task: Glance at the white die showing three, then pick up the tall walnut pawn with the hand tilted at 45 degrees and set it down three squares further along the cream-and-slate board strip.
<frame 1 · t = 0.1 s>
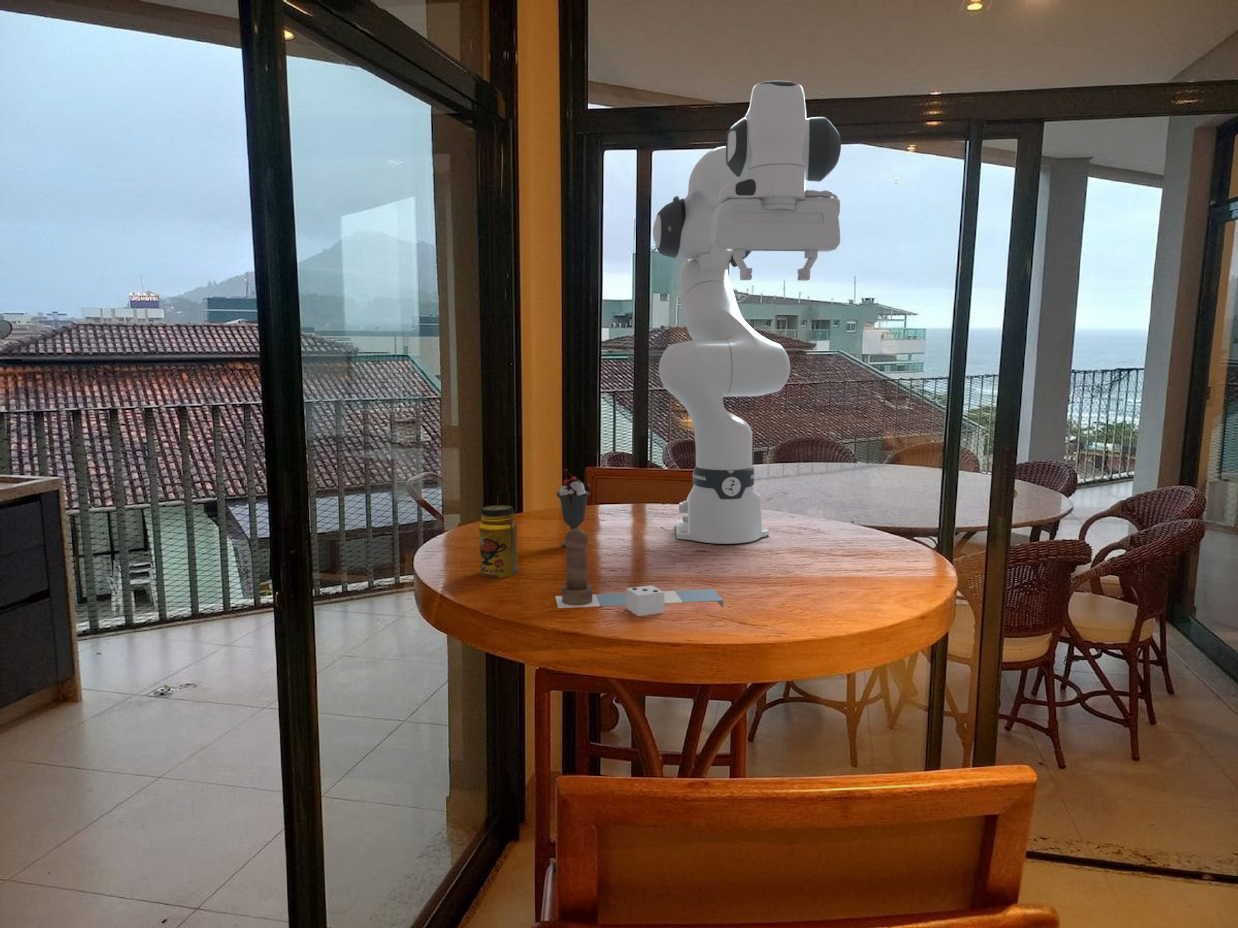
hand: (774, 280, 136), 48 cm above the table, tool pointing down, fingers open, 8 cm apart
die: (645, 617, 121), on the table
condiment: (501, 578, 143), on the table
pawn: (577, 600, 125), point 1 cm above the table, touching board
board: (638, 604, 126), on the table
sundae: (574, 546, 166), on the table
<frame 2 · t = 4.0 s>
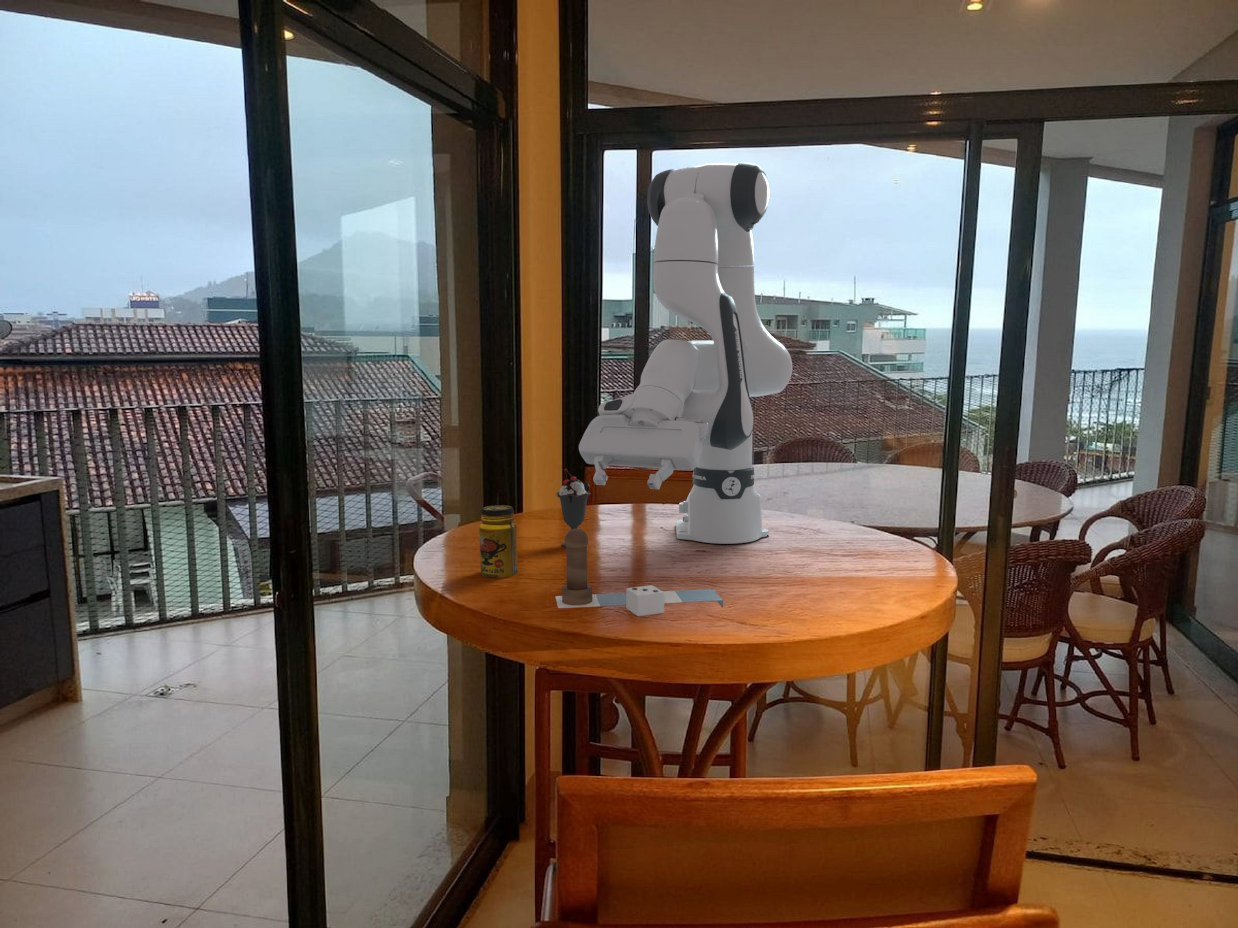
hand: (625, 484, 133), 17 cm above the table, tool tilted 45°, fingers open, 8 cm apart
nothing on the table moved.
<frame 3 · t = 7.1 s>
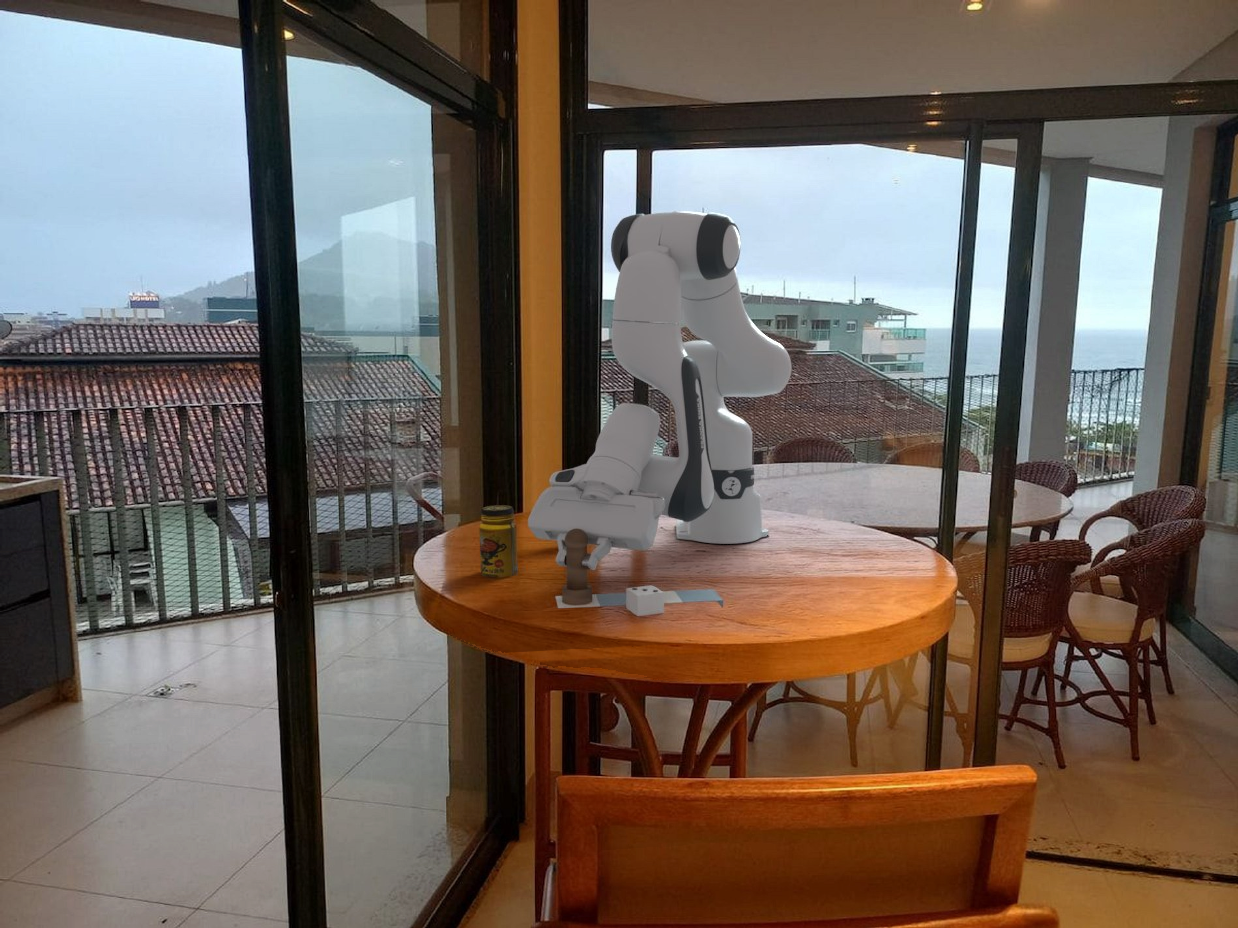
hand: (574, 565, 124), 6 cm above the table, tool tilted 45°, fingers closed on pawn, 3 cm apart
pawn: (577, 600, 125), point 1 cm above the table, touching board, gripper
everything else where it was.
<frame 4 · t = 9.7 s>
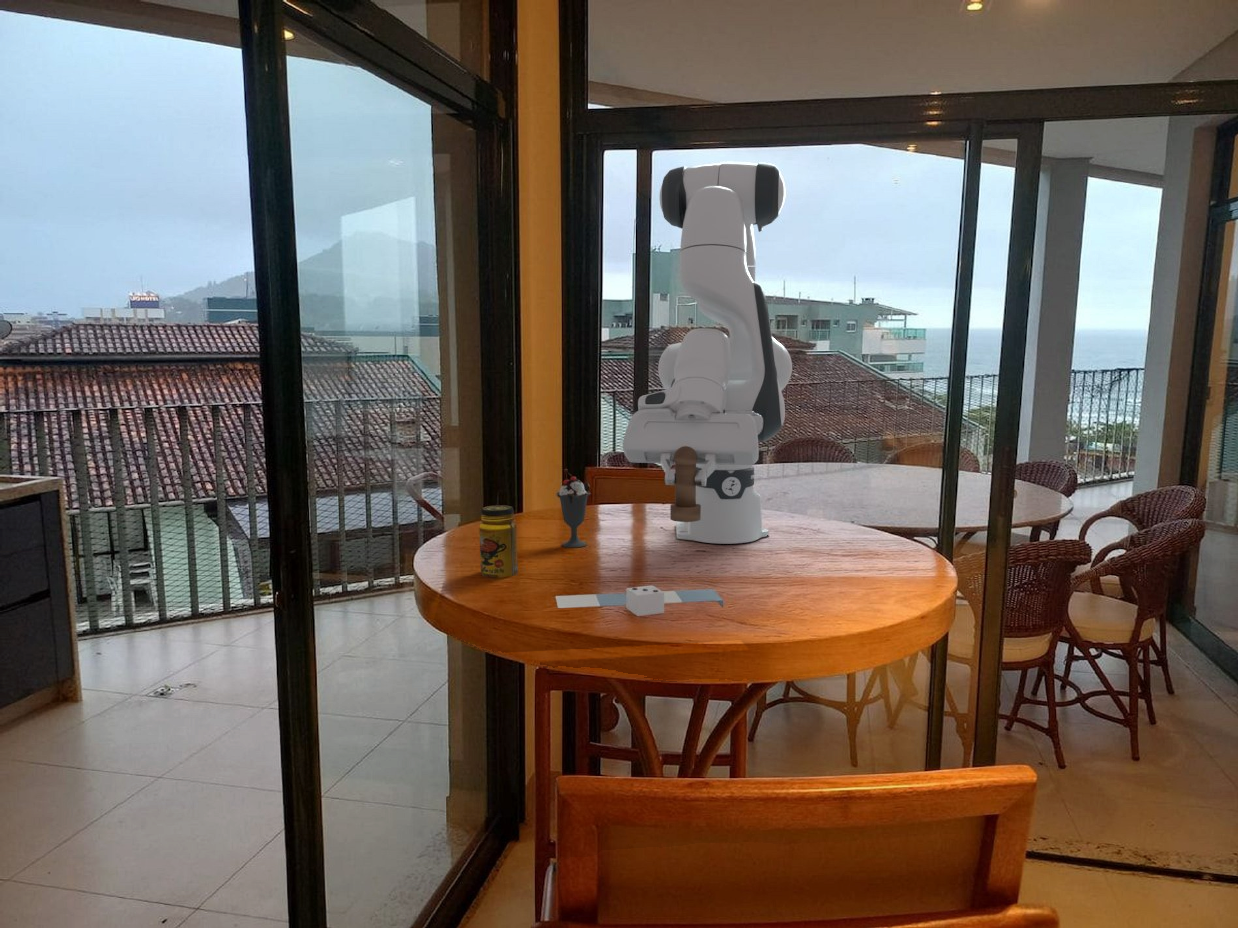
hand: (685, 483, 125), 18 cm above the table, tool tilted 45°, fingers closed on pawn, 3 cm apart
pawn: (685, 518, 126), point 13 cm above the table, touching gripper
everything else where it was.
when the fingers open (7 cm above the table, at t = 12.3 s): pawn stays where it is, resting on board.
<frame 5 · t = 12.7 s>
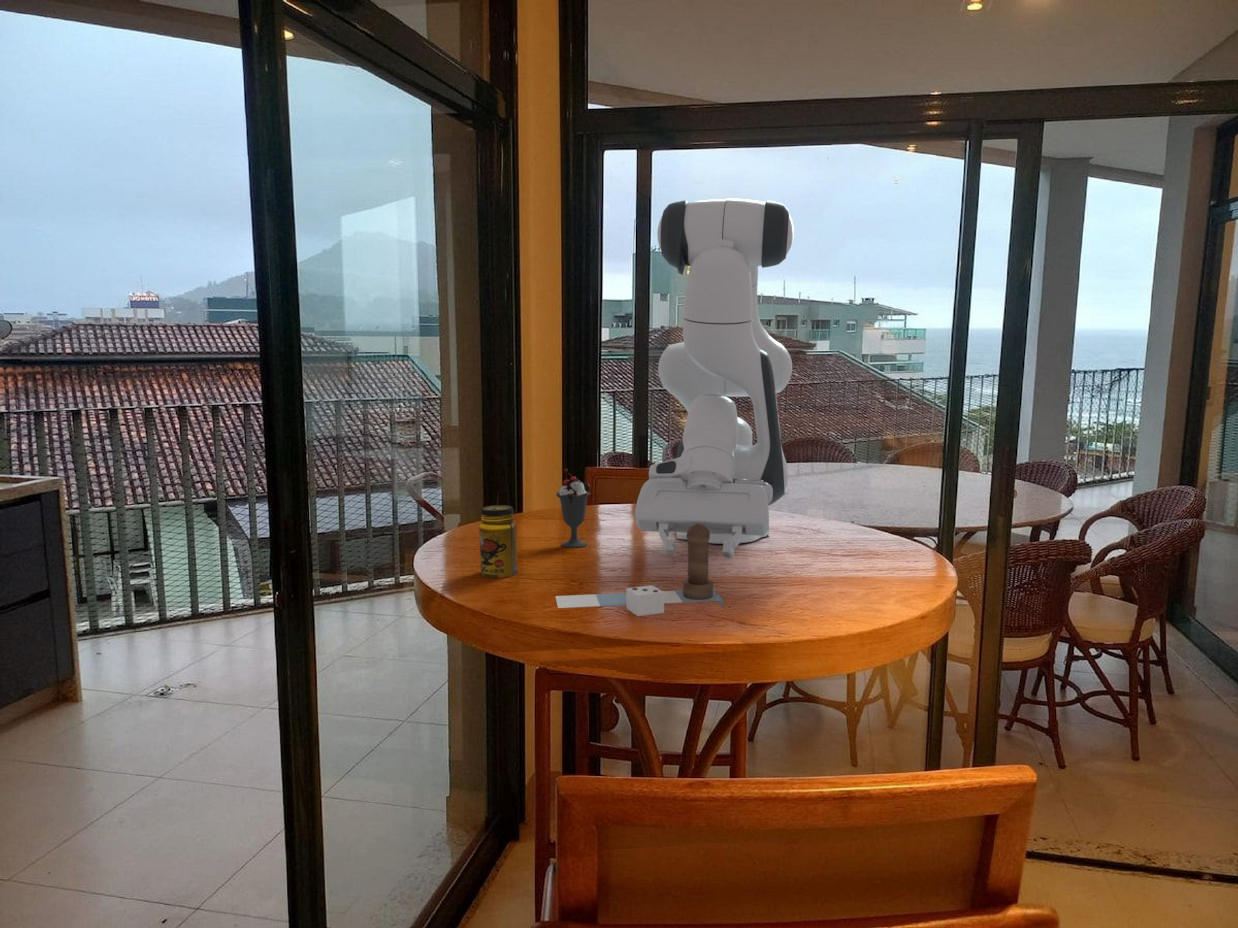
hand: (697, 554, 126), 7 cm above the table, tool tilted 45°, fingers open, 7 cm apart
pawn: (698, 595, 128), point 1 cm above the table, touching board
everything else where it was.
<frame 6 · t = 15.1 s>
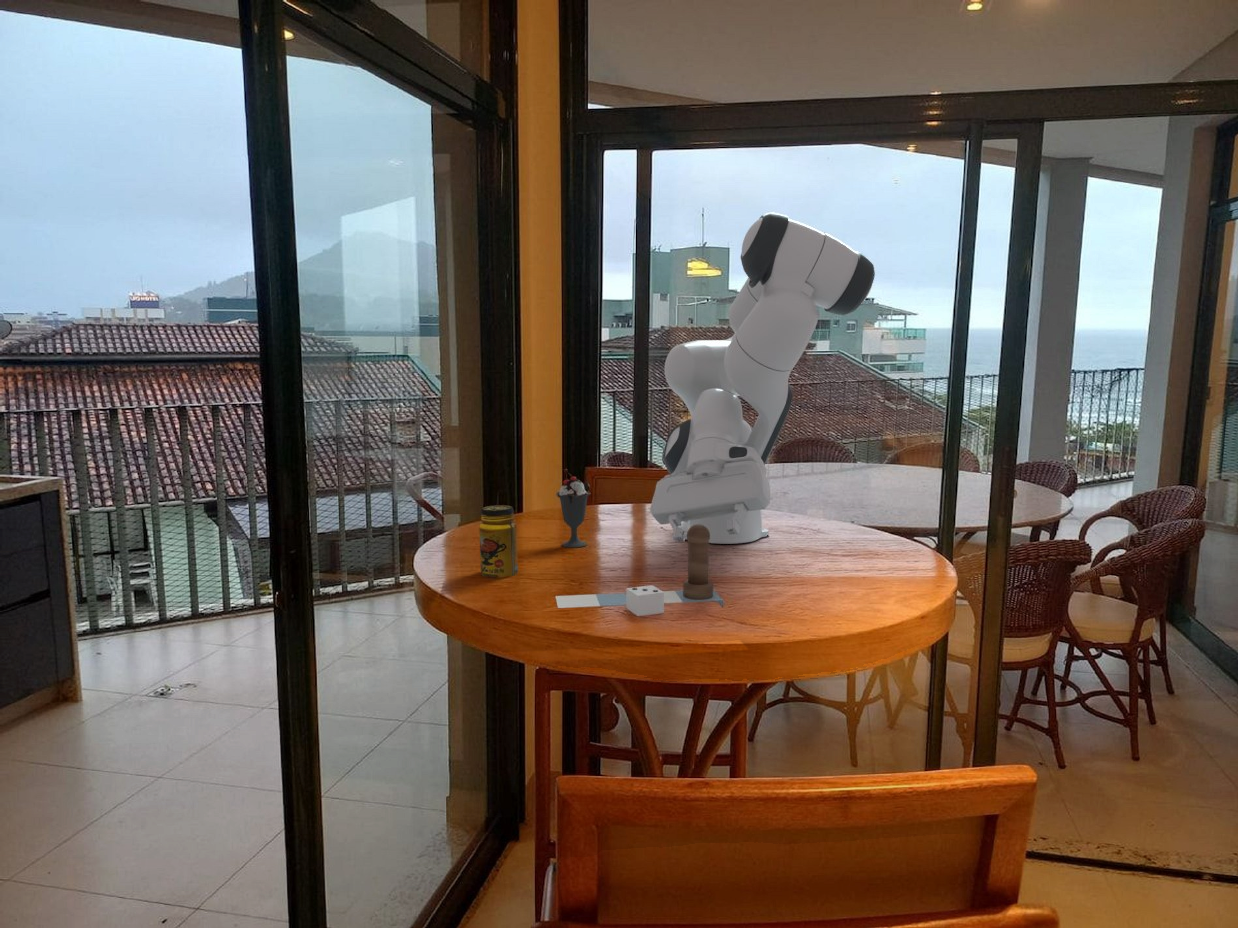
hand: (705, 536, 138), 7 cm above the table, tool tilted 45°, fingers open, 8 cm apart
nothing on the table moved.
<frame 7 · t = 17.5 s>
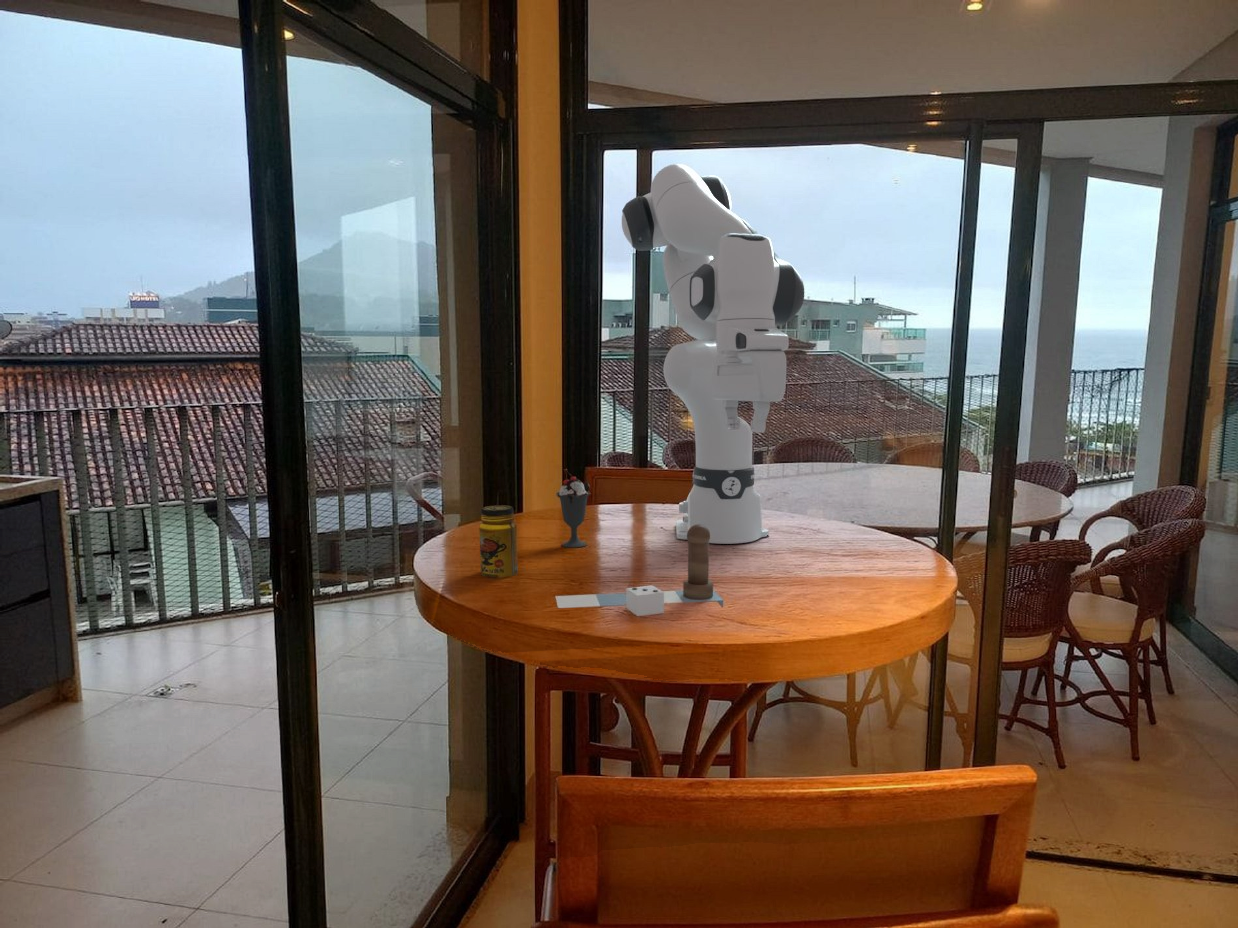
hand: (745, 430, 133), 25 cm above the table, tool pointing down, fingers open, 8 cm apart
nothing on the table moved.
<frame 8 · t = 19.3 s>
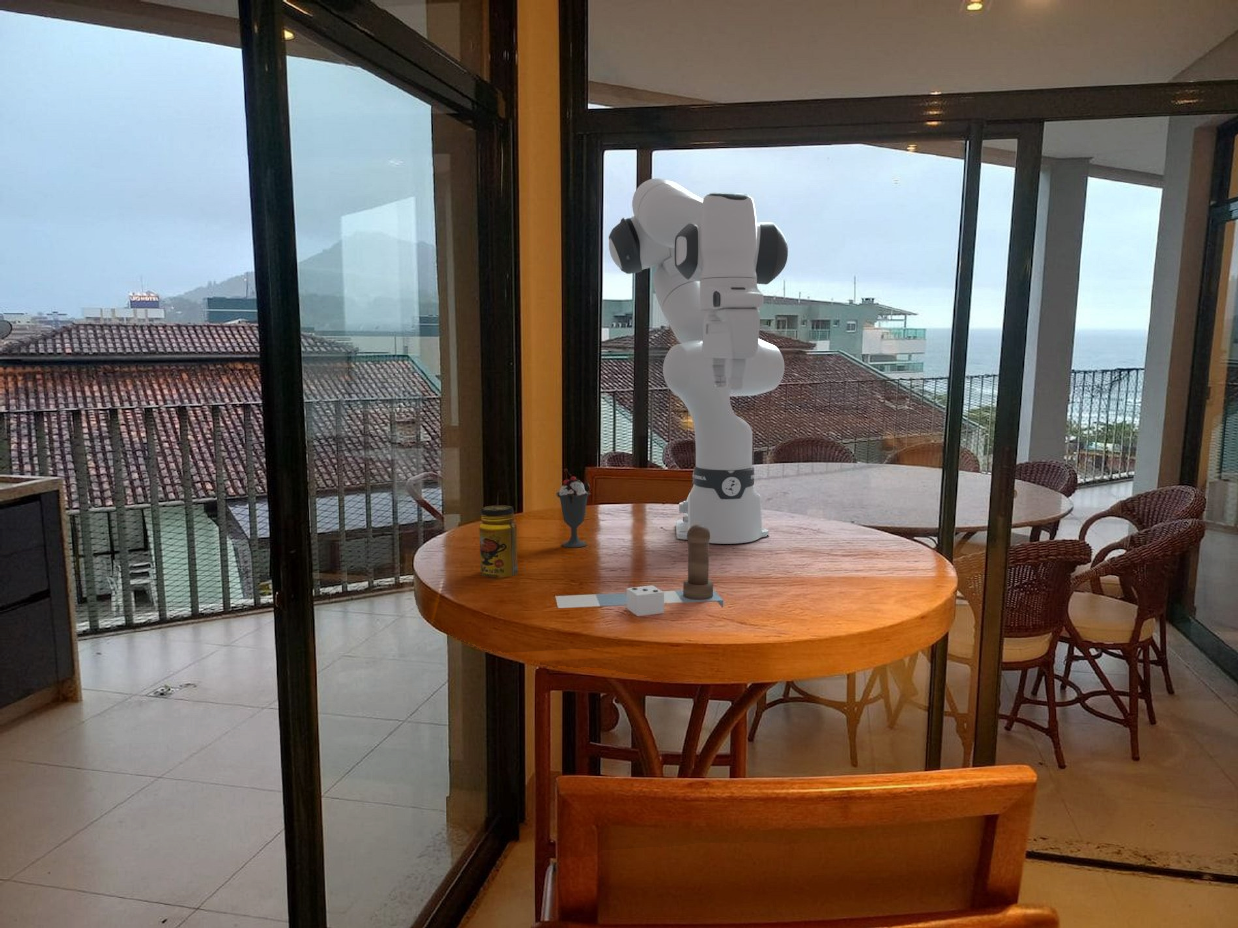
hand: (727, 388, 135), 31 cm above the table, tool pointing down, fingers open, 8 cm apart
nothing on the table moved.
at the end: pawn inside the target area (0.0 cm from its centre), point 1.0 cm above the table; pawn tilted 0°; the gripper is holding nothing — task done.
